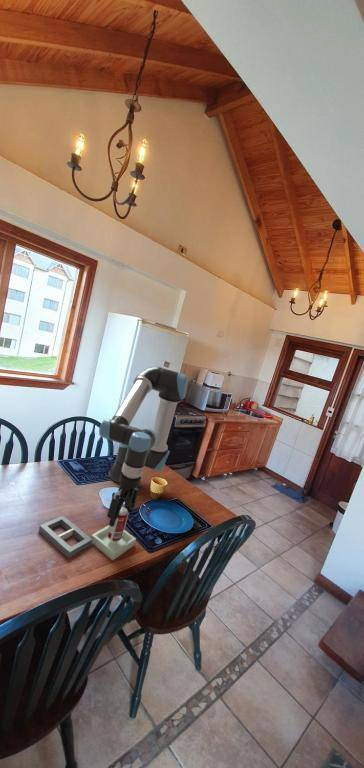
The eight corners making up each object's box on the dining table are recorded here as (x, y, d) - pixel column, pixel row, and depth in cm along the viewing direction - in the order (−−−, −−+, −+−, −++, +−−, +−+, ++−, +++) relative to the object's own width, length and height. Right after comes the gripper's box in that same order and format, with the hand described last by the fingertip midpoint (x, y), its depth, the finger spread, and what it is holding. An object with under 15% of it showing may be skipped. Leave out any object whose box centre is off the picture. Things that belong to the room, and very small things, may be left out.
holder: (38, 531, 113) (39, 525, 113) (61, 520, 122) (62, 515, 121) (68, 558, 105) (69, 552, 105) (90, 545, 114) (92, 539, 113)
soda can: (108, 531, 119) (115, 504, 118) (121, 534, 120) (129, 507, 118) (106, 541, 114) (113, 512, 112) (120, 543, 115) (127, 515, 113)
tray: (89, 541, 115) (91, 534, 115) (112, 528, 126) (114, 522, 125) (112, 560, 110) (114, 553, 109) (134, 545, 120) (136, 538, 119)
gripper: (122, 485, 103) (106, 545, 107) (153, 472, 119) (138, 524, 123) (106, 475, 107) (91, 533, 111) (139, 463, 122) (125, 515, 126)
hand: (116, 529), depth 117 cm, fingers closed on soda can, 5 cm apart
